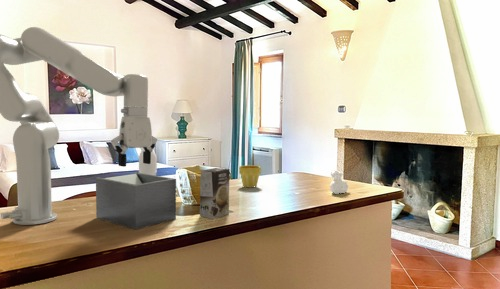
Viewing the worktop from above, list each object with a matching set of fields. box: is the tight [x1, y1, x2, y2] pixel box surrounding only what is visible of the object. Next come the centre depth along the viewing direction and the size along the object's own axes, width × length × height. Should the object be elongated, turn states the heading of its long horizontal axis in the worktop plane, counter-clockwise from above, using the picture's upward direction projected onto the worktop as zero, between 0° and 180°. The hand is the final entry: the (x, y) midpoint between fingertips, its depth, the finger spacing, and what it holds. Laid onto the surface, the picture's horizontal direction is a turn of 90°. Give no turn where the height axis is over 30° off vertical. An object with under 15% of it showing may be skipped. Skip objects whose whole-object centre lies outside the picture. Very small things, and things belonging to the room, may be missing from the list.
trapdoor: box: [105, 173, 142, 185], centre depth 132 cm, size 13×14×1 cm
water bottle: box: [138, 148, 158, 176], centre depth 157 cm, size 7×7×25 cm
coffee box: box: [199, 167, 231, 220], centre depth 136 cm, size 9×6×16 cm
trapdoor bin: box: [95, 171, 177, 231], centre depth 130 cm, size 16×21×14 cm
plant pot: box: [238, 164, 262, 188], centre depth 189 cm, size 10×10×10 cm
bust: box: [329, 170, 349, 195], centre depth 179 cm, size 12×8×11 cm
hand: (134, 164), depth 129 cm, fingers open, 9 cm apart
